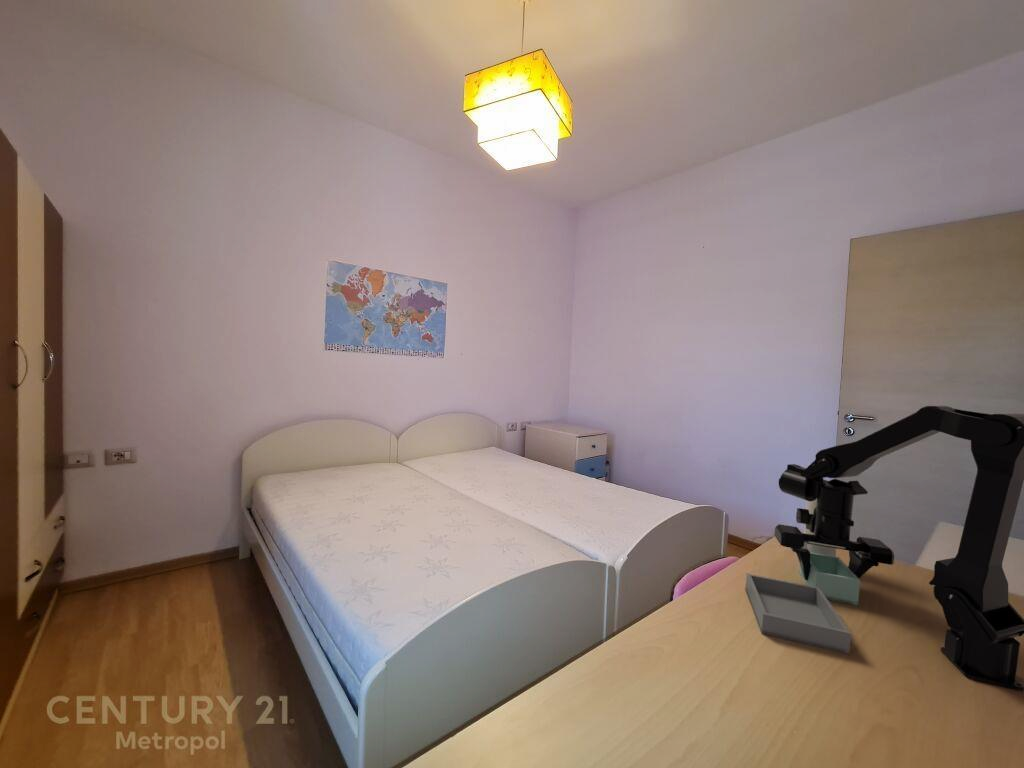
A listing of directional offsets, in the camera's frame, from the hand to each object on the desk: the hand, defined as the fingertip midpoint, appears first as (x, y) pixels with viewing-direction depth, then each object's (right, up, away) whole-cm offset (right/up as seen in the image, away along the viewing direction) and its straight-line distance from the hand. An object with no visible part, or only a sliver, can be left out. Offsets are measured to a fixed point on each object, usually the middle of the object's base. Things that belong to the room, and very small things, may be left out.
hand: (826, 583), depth 84 cm
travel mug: (+6, -1, +11) cm, 12 cm away
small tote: (0, -1, 0) cm, 1 cm away
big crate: (-15, -1, -11) cm, 18 cm away
